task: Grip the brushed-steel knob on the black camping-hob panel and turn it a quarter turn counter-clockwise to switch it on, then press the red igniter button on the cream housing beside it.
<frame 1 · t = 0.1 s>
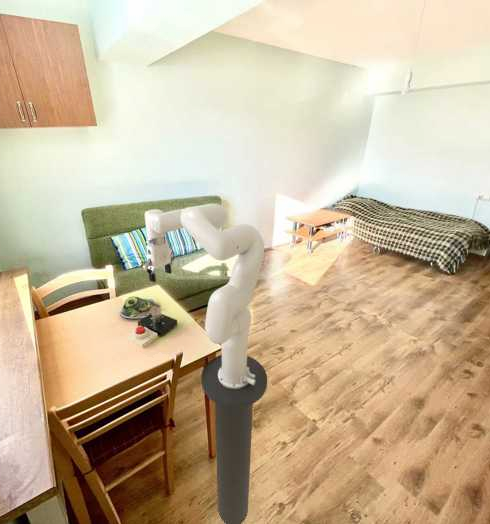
hand: (160, 277, 122), 26 cm above the table, tool pointing down, fingers open, 9 cm apart
stove knob: (156, 316, 130), point 5 cm above the table, hinge at 0.0°
igniter button: (140, 330, 121), point 4 cm above the table, slide at 0.1 cm
igniter: (141, 338, 123), on the table
salad plate: (138, 309, 144), on the table
hob panel: (157, 325, 132), on the table
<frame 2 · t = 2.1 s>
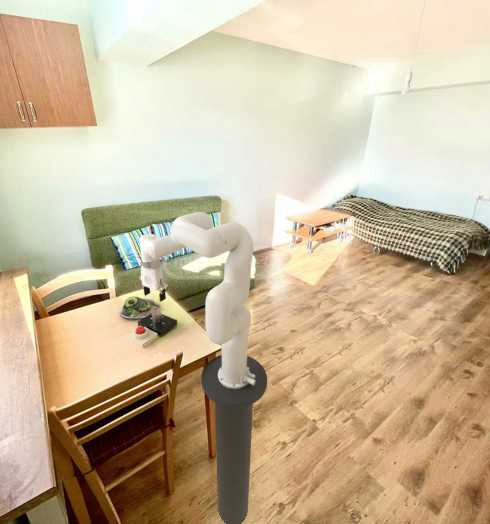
hand: (155, 297, 126), 15 cm above the table, tool pointing down, fingers open, 9 cm apart
nothing on the table moved.
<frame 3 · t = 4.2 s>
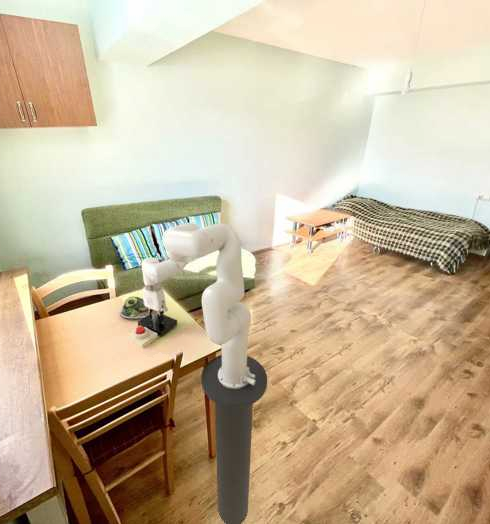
hand: (157, 318, 131), 4 cm above the table, tool pointing down, fingers closed on stove knob, 4 cm apart
stove knob: (156, 316, 130), point 5 cm above the table, hinge at 0.0°, touching gripper
everything else where it was.
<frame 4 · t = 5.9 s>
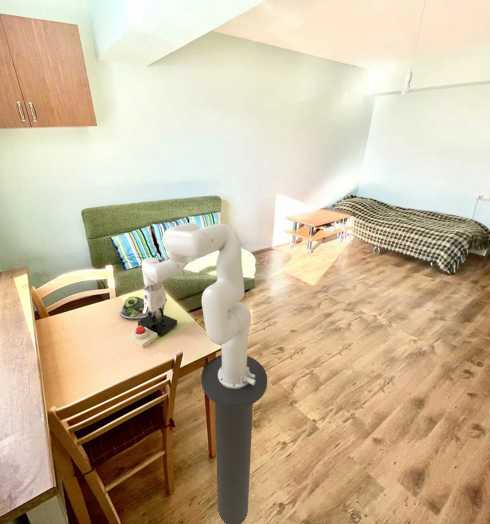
hand: (157, 319, 131), 4 cm above the table, tool pointing down, fingers closed on stove knob, 4 cm apart
stove knob: (156, 316, 130), point 5 cm above the table, hinge at 90.3°, touching gripper
everything else where it was.
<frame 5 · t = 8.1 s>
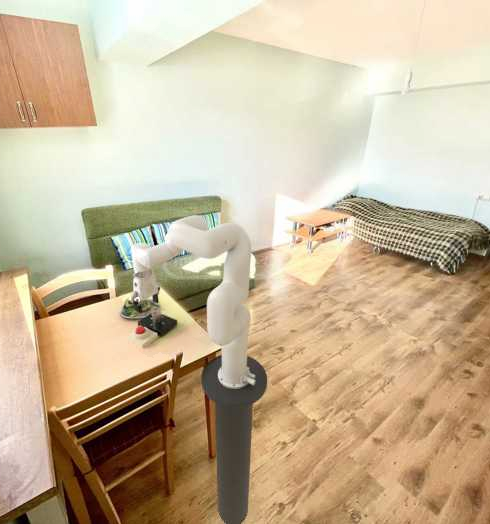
hand: (147, 306, 124), 13 cm above the table, tool pointing down, fingers open, 9 cm apart
stove knob: (156, 316, 130), point 5 cm above the table, hinge at 89.6°
everything else where it was.
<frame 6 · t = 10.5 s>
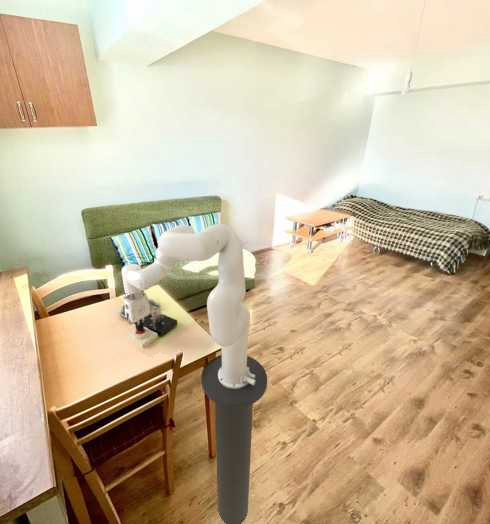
hand: (140, 330, 121), 5 cm above the table, tool pointing down, fingers closed
igniter button: (140, 331, 122), point 4 cm above the table, slide at -0.7 cm, touching gripper
everything else where it was.
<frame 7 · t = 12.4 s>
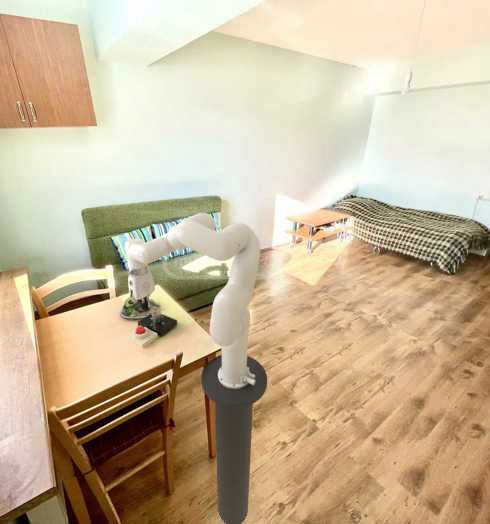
hand: (144, 309, 117), 15 cm above the table, tool pointing down, fingers closed
igniter button: (140, 330, 121), point 4 cm above the table, slide at 0.1 cm
everything else where it was.
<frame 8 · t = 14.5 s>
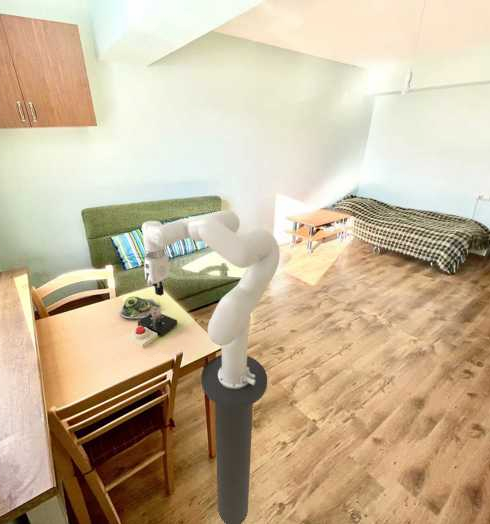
hand: (159, 294, 115), 22 cm above the table, tool pointing down, fingers closed
nothing on the table moved.
at the end: stove knob at +90° (first picture: +0°); igniter button pushed in 1.1 cm at the most during the clip, back to where it started at the end; igniter button slide at 0.1 cm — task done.
